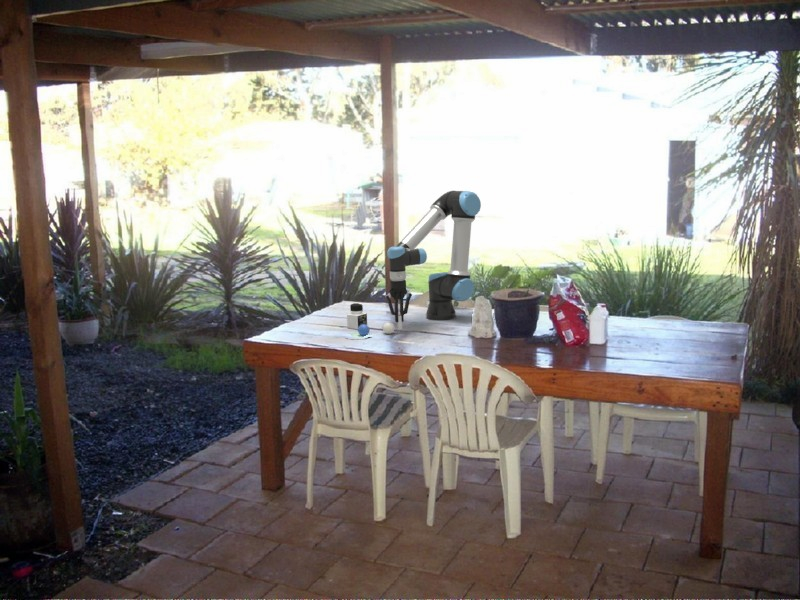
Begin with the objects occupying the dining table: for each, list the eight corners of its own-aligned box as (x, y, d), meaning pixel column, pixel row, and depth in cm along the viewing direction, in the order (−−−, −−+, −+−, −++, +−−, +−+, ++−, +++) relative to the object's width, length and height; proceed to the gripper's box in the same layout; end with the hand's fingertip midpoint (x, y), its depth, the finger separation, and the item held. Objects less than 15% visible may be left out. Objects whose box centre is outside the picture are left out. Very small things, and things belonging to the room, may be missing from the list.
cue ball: (382, 320, 387) (380, 331, 388) (386, 322, 382) (383, 334, 383) (393, 322, 389) (391, 333, 390) (397, 324, 384) (394, 336, 385)
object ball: (362, 320, 386) (354, 329, 385) (364, 323, 380) (356, 331, 380) (370, 328, 387) (362, 336, 387) (372, 330, 382) (364, 339, 382)
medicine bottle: (358, 329, 397) (357, 305, 395) (347, 328, 402) (346, 304, 400) (367, 326, 403) (366, 303, 401) (356, 325, 407) (355, 301, 405)
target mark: (370, 331, 392) (370, 331, 392) (376, 338, 378) (376, 337, 378) (341, 334, 389) (341, 334, 389) (346, 340, 375) (346, 340, 375)
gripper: (386, 282, 378) (388, 331, 383) (413, 279, 381) (414, 329, 385) (382, 279, 385) (384, 328, 390) (409, 277, 388) (411, 325, 393)
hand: (399, 328), depth 388 cm, fingers closed
